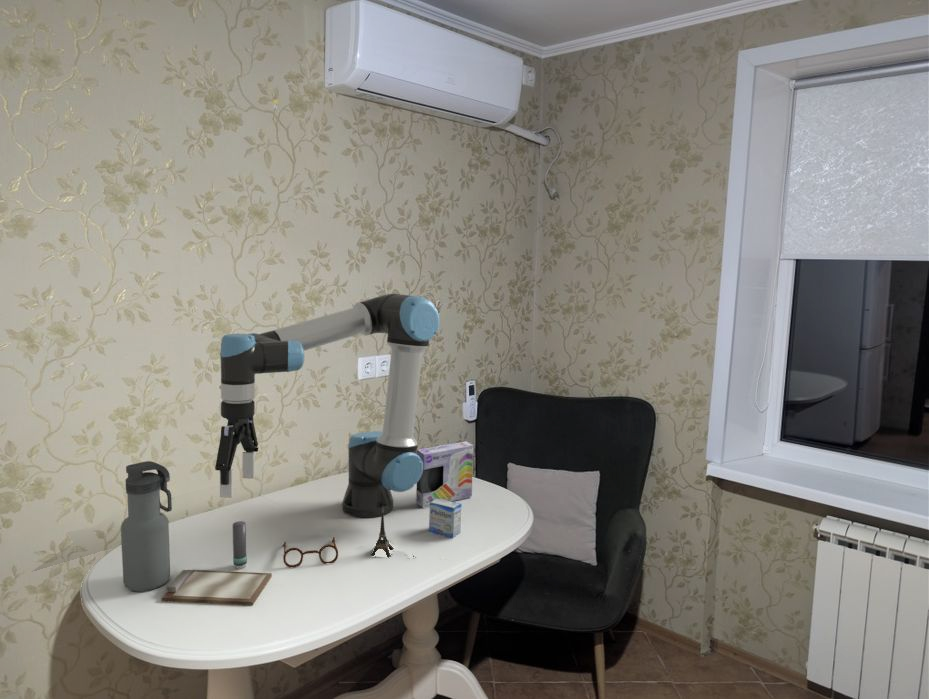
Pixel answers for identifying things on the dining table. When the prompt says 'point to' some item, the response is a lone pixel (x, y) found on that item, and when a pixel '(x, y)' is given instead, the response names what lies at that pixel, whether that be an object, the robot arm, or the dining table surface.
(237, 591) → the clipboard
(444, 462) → the cake pan box
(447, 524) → the medicine box
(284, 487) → the dining table surface
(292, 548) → the glasses
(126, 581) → the water bottle
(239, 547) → the marker
